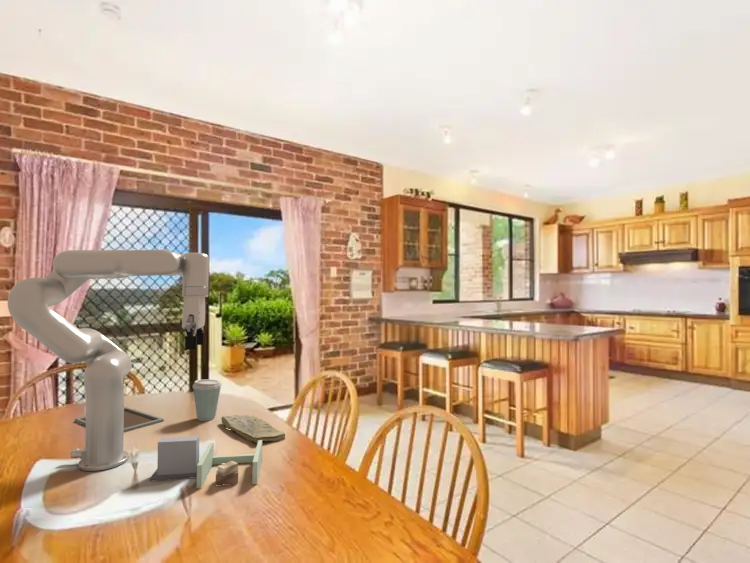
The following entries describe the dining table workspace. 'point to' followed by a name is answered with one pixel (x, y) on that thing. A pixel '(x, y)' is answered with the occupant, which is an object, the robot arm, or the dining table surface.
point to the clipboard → (132, 419)
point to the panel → (171, 476)
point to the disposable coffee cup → (206, 398)
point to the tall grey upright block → (178, 455)
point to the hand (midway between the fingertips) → (194, 346)
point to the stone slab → (252, 428)
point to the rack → (210, 459)
